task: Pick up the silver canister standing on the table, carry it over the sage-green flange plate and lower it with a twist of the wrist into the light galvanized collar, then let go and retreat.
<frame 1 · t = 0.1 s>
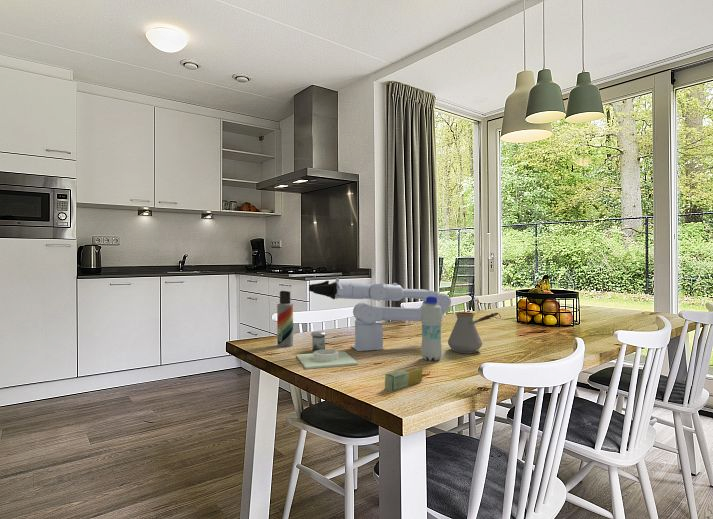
hand: (311, 288, 147), 22 cm above the table, tool horizontal, fingers open, 7 cm apart
bottle: (431, 359, 138), on the table
lotion bottle: (285, 345, 159), on the table
duct flange: (326, 360, 137), on the table
coffee pot: (474, 354, 145), on the table
silver canister: (318, 350, 151), on the table
medication box: (404, 386, 111), on the table
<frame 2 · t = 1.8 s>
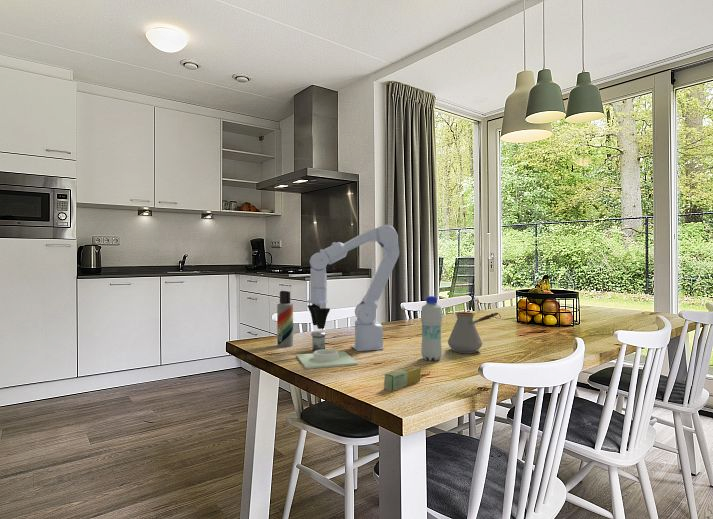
hand: (318, 326, 151), 8 cm above the table, tool pointing down, fingers open, 7 cm apart
nothing on the table moved.
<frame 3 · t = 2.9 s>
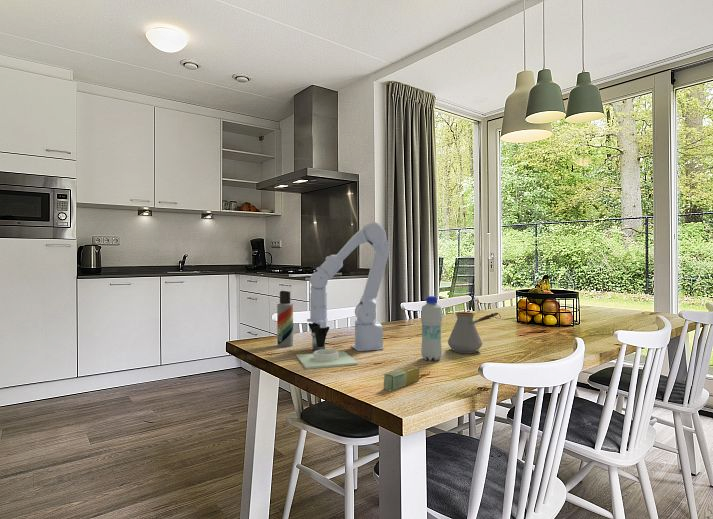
hand: (318, 345, 151), 2 cm above the table, tool pointing down, fingers closed on silver canister, 5 cm apart
silver canister: (318, 349, 151), on the table, touching gripper
everything else where it was.
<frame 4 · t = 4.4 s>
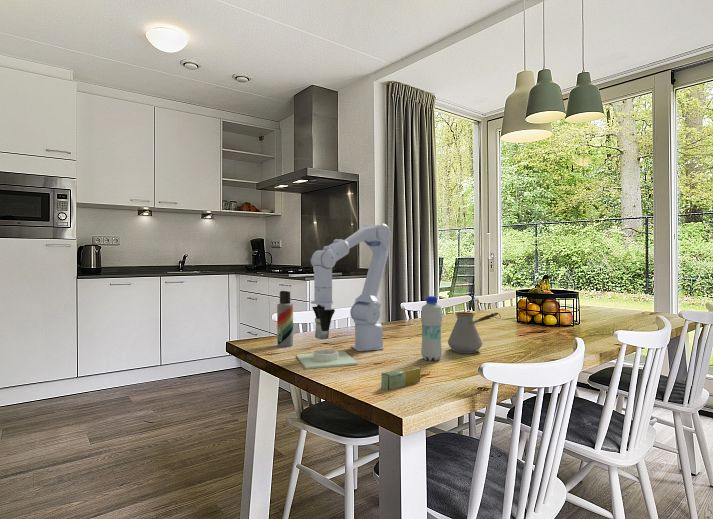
hand: (323, 329, 141), 9 cm above the table, tool pointing down, fingers closed on silver canister, 5 cm apart
silver canister: (321, 337, 141), point 6 cm above the table, tilted 7°, touching gripper
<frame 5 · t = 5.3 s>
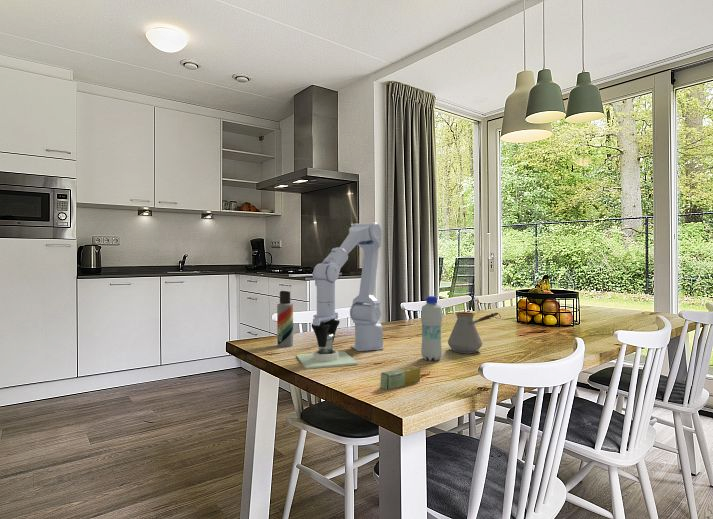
hand: (326, 344, 137), 5 cm above the table, tool pointing down, fingers closed on silver canister, 5 cm apart
silver canister: (325, 352, 138), point 2 cm above the table, tilted 7°, touching gripper
when the fingers open (3 cm above the table, at t = 6.1 s): silver canister stays where it is, resting on duct flange.
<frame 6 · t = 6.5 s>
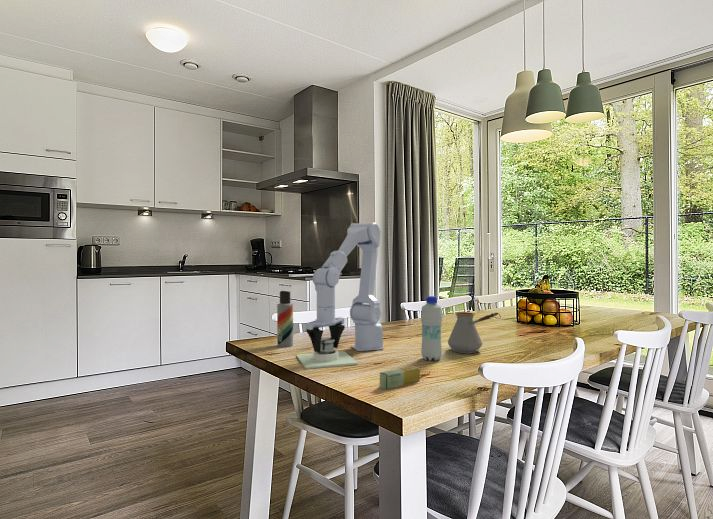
hand: (326, 349, 137), 3 cm above the table, tool pointing down, fingers open, 7 cm apart
silver canister: (326, 357, 138), point 1 cm above the table, touching duct flange
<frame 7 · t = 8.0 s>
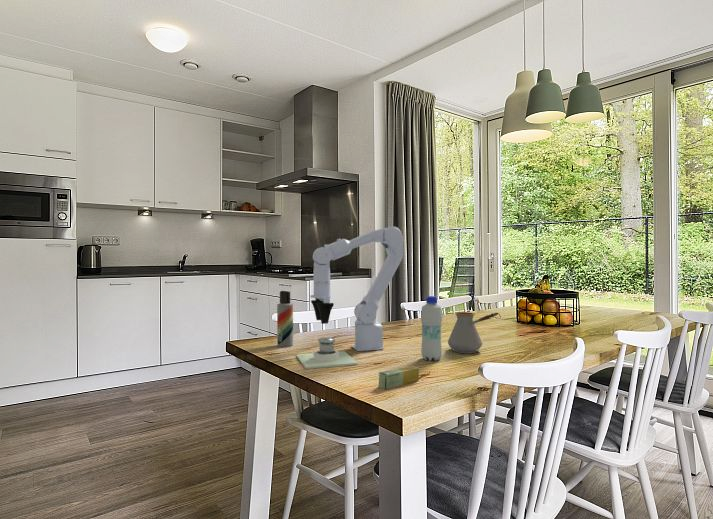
hand: (322, 321, 151), 10 cm above the table, tool pointing down, fingers open, 7 cm apart
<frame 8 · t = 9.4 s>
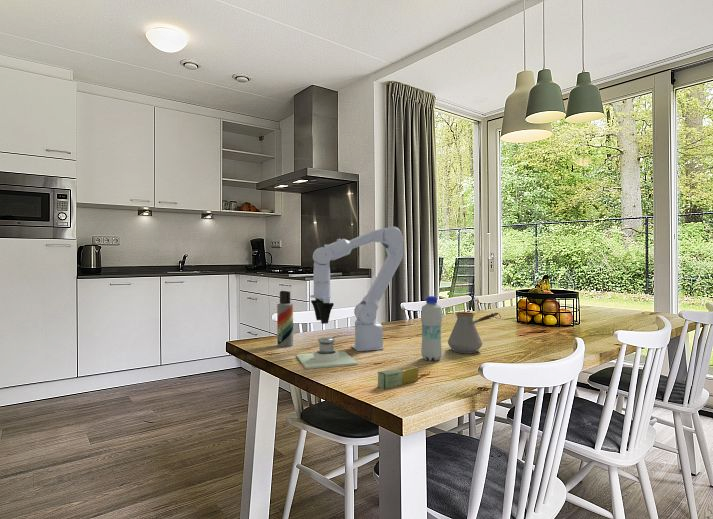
hand: (322, 321, 151), 10 cm above the table, tool pointing down, fingers open, 7 cm apart
at the end: silver canister 0.8 cm off-centre on the duct flange, point 0.6 cm above the duct flange's base; silver canister tilted 1°; the gripper is holding nothing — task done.
